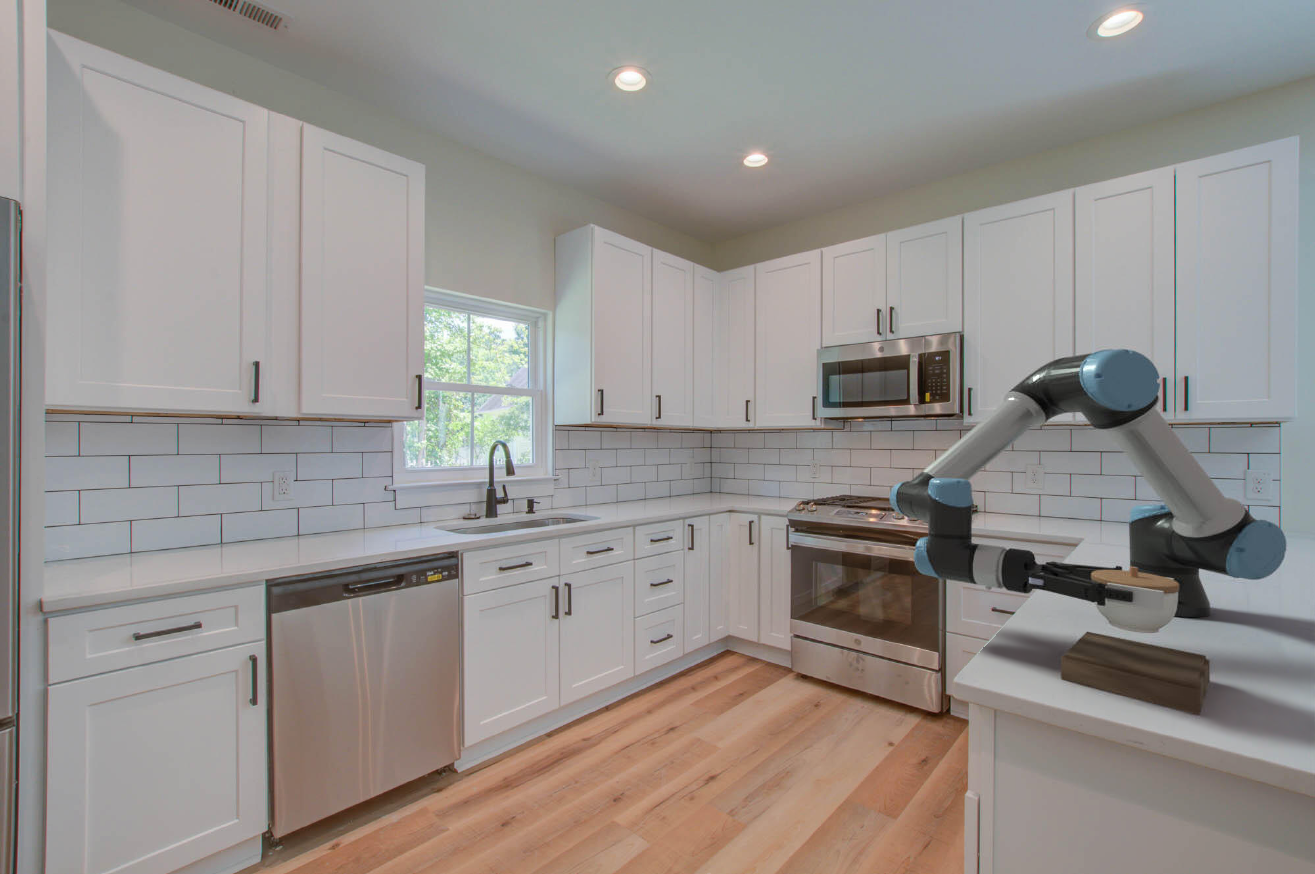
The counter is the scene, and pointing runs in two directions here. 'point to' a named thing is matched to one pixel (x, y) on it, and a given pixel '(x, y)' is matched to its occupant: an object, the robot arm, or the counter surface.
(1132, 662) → the walnut stand
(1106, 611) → the lidded jar
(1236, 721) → the counter surface
